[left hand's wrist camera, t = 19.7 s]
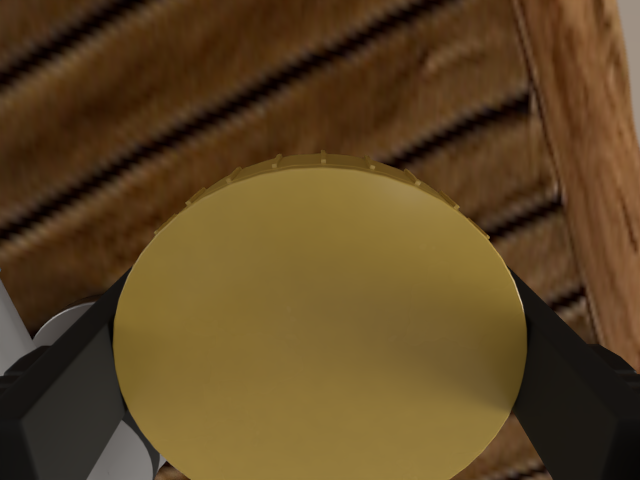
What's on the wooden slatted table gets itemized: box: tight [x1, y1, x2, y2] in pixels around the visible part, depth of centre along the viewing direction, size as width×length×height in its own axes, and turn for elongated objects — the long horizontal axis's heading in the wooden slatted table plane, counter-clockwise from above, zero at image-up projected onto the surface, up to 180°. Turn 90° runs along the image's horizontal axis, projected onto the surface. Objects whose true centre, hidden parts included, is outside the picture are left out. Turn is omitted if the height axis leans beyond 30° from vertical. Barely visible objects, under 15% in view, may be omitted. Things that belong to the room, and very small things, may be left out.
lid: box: [113, 150, 527, 480], centre depth 11 cm, size 10×10×2 cm
